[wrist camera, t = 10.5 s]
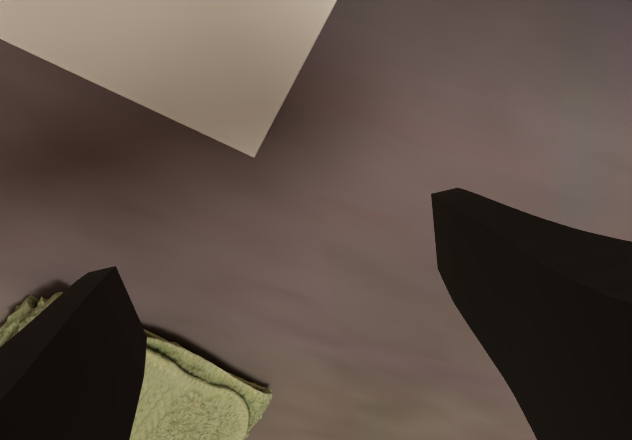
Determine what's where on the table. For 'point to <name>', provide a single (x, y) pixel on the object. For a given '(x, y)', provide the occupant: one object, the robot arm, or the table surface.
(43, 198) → the table surface
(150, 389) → the washcloth
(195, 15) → the socket board
